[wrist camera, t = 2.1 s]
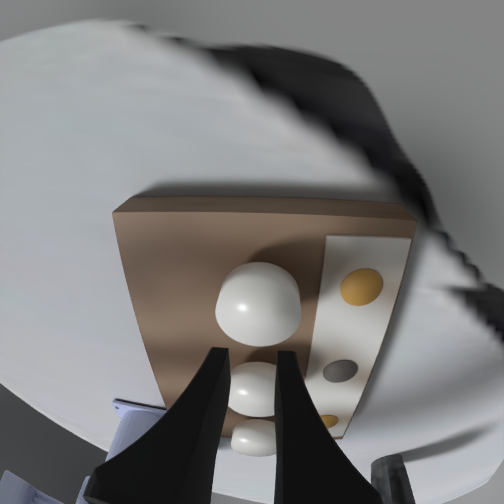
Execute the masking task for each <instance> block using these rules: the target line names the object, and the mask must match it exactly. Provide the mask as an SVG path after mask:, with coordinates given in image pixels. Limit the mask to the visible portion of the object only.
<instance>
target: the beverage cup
mask: <svg viewBox="0 0 504 504" xmlns="http://www.w3.org/2000/svg"><path fill="white" fill-rule="evenodd" d="M371 485H372V486H373V487H374V488H375V489H376V490H377V491H378V492H379V493H380V495H381V498H382V500H383V503H384V504H415V500H414V496H413V492H412V489H411V485H410V482H409V478H408V475H407V471H406V468H405V465H404V463H403V460H402V457H401V455H389V456H385V457H382V458H380V459H377V460H375V461H374V462H373V463H372V464H371Z"/></svg>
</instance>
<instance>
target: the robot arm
mask: <svg viewBox="0 0 504 504" xmlns="http://www.w3.org/2000/svg"><path fill="white" fill-rule="evenodd" d="M230 387H231V372H230V360H229V348H221V347H212V348H211V349H210V350H209V352H208V354H207V356H206V358H205V360H204V361H203V363H202V365H201V366H200V368H199V370H198V371H197V373H196V374H195V376H194V377H193V379H192V380H191V382H190V383H189V384H188V386H187V387H186V389H185V390H184V391H183V393H182V394H181V395H180V396H179V398H178V399H177V400H176V401H175V403H174V404H173V405H172V406H171V407H170V408H169V410H168V411H167V410H161V409H156V408H150V407H145V406H140V405H135V404H130V403H125V402H121V401H117V400H113V401H112V405H113V407H114V409H115V410H116V412H117V414H118V415H119V417H120V419H121V421H120V424H119V426H118V429H117V432H116V434H115V437H114V439H113V442H112V445H111V447H110V450H109V453H108V455H107V458H106V461H105V462H104V463H103V464H101V465H99V466H98V467H96V468H95V469H94V471H93V473H92V475H91V476H88V477H86V478H85V480H84V482H83V485H82V488H81V490H80V493H79V496H78V499H77V502H76V504H210V502H211V492H212V484H213V475H214V468H215V460H216V454H217V449H218V445H219V441H220V437H221V433H222V429H223V424H224V420H225V416H226V412H227V408H228V403H229V395H230ZM274 416H275V434H276V456H277V463H276V480H275V495H274V504H384V503H383V500H382V498H381V495H380V493H379V492H378V491H377V490H376V489H375V488H374V487H373V486H372V485H371V484H370V483H369V482H368V481H367V480H366V479H365V478H364V477H363V476H362V475H361V474H360V472H359V471H358V470H357V469H356V468H355V467H354V466H353V464H352V463H351V462H350V460H349V459H348V458H347V457H346V455H345V454H344V453H343V451H342V450H341V449H340V447H339V446H338V445H337V443H336V442H335V440H334V439H333V437H332V436H331V434H330V432H329V431H328V429H327V428H326V426H325V424H324V422H323V421H322V419H321V417H320V415H319V413H318V411H317V409H316V407H315V405H314V403H313V401H312V399H311V397H310V394H309V392H308V390H307V387H306V385H305V382H304V379H303V377H302V374H301V371H300V367H299V364H298V360H297V355H296V353H295V352H294V351H278V350H277V364H276V377H275V394H274ZM0 504H64V503H62V502H60V501H58V500H56V499H54V498H51V497H50V496H47V495H46V494H44V493H42V492H40V491H38V490H36V489H35V488H34V487H33V486H32V485H30V484H29V483H27V482H25V481H24V480H22V479H20V478H19V477H17V476H16V475H14V474H12V473H10V472H9V471H8V470H6V471H5V472H4V474H3V477H2V479H1V481H0Z"/></svg>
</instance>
